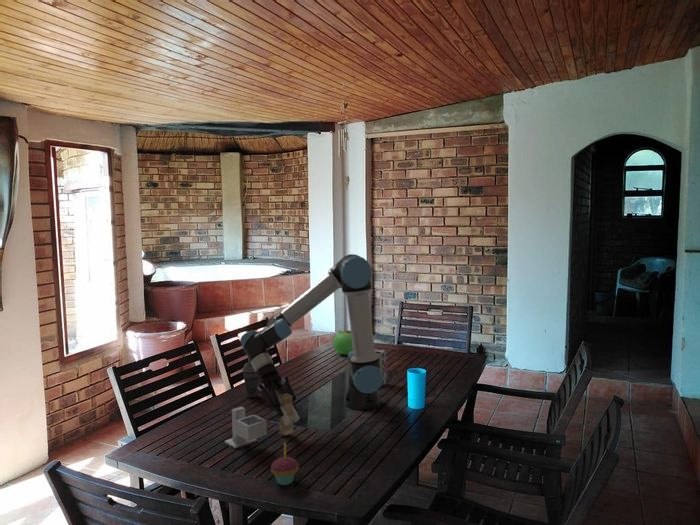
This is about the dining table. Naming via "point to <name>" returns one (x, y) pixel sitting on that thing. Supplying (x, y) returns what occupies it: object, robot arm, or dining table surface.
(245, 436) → the bracket
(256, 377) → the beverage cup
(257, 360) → the robot arm
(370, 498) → the dining table surface
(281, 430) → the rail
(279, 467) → the cupcake
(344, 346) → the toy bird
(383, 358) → the candy bar box
